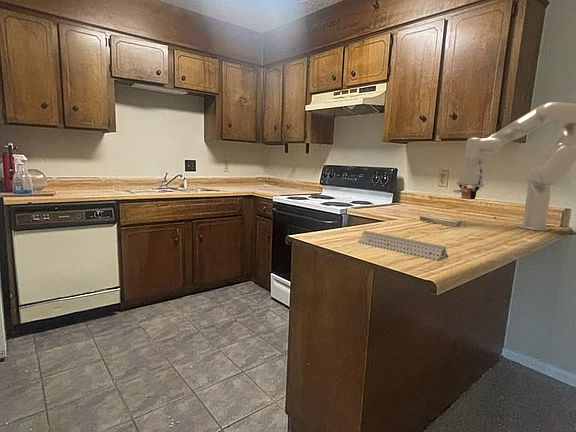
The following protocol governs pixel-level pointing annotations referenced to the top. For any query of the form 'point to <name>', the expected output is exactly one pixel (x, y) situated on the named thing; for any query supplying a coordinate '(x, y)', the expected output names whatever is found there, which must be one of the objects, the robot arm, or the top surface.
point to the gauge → (465, 193)
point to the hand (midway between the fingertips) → (468, 198)
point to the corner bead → (404, 245)
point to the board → (443, 220)
